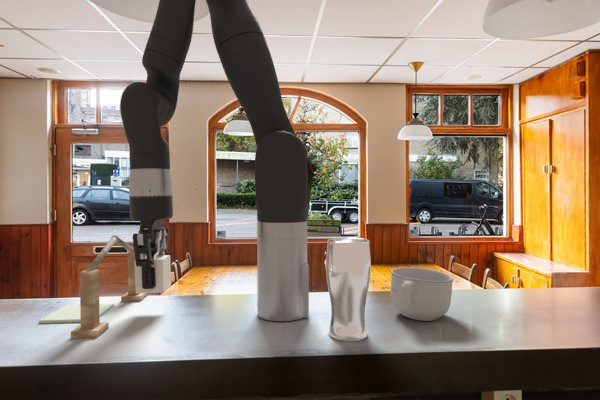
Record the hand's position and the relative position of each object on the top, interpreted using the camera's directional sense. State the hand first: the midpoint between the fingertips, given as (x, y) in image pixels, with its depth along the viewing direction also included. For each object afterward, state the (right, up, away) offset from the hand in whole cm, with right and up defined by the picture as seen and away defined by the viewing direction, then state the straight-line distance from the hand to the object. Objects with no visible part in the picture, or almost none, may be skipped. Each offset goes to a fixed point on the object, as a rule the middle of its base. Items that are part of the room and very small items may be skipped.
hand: (153, 284), depth 71 cm
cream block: (0, -1, 0) cm, 1 cm away
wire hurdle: (-7, -5, -1) cm, 9 cm away
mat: (-13, -5, -1) cm, 14 cm away
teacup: (+48, -6, -3) cm, 49 cm away
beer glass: (+35, -6, -11) cm, 37 cm away
